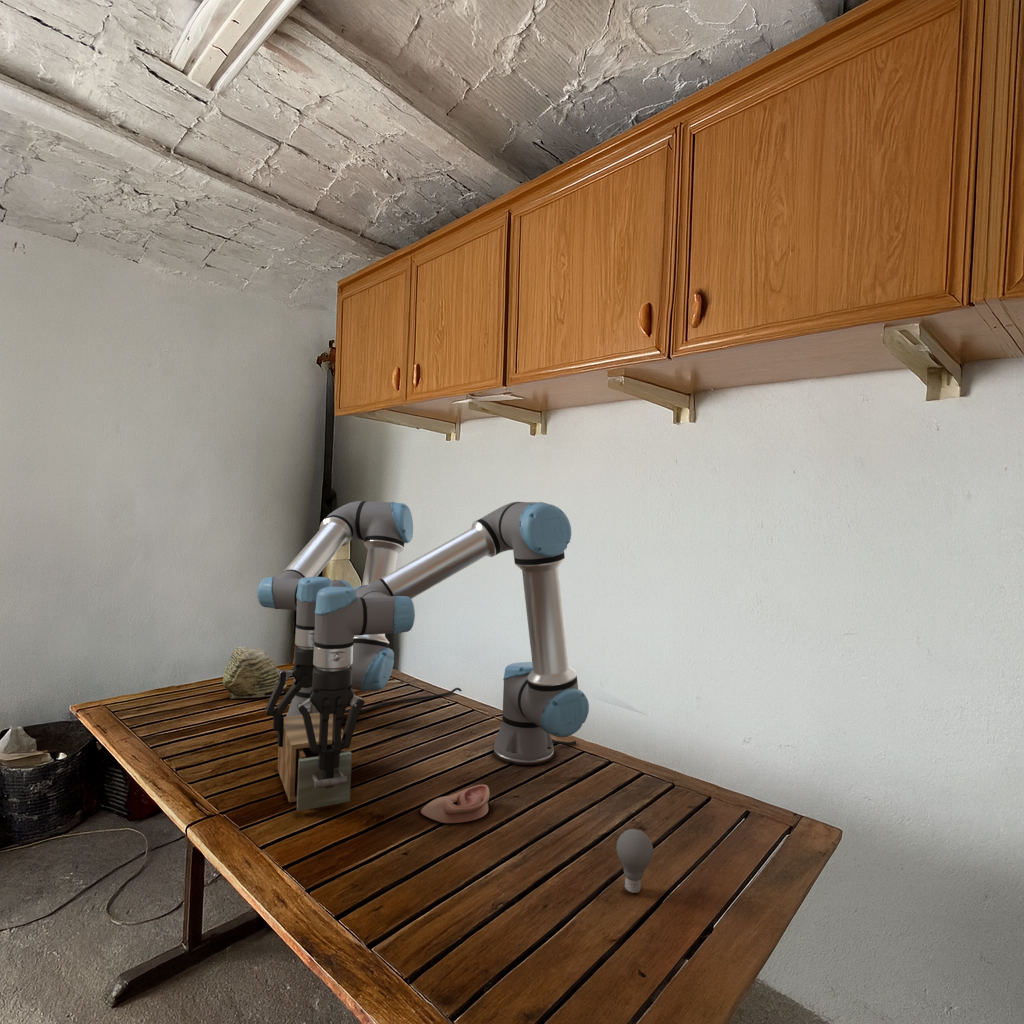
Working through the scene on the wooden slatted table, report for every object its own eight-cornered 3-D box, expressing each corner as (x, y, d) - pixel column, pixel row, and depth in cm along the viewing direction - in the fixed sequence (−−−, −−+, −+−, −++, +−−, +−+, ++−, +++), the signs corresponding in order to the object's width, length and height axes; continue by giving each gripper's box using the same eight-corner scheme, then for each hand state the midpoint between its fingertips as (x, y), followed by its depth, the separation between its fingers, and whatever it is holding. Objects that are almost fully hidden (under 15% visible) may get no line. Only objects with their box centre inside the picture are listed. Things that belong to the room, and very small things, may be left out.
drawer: (356, 814, 125) (358, 764, 125) (302, 825, 120) (304, 772, 120) (333, 770, 144) (334, 727, 144) (285, 778, 139) (287, 733, 139)
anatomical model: (416, 799, 126) (434, 775, 137) (415, 819, 126) (433, 793, 137) (480, 808, 123) (494, 783, 134) (479, 829, 123) (493, 802, 134)
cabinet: (345, 792, 136) (347, 737, 136) (289, 802, 131) (291, 745, 130) (328, 761, 151) (330, 711, 151) (277, 769, 146) (279, 717, 146)
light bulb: (610, 879, 108) (613, 822, 108) (644, 879, 109) (647, 822, 109) (619, 902, 102) (622, 840, 102) (655, 901, 103) (658, 840, 103)
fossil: (218, 695, 195) (220, 647, 195) (278, 685, 208) (279, 640, 207) (228, 703, 189) (230, 653, 188) (289, 692, 201) (290, 645, 201)
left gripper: (257, 653, 135) (253, 755, 135) (368, 646, 146) (365, 739, 146) (254, 645, 141) (250, 742, 142) (360, 639, 153) (356, 728, 153)
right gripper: (301, 674, 118) (296, 799, 119) (370, 668, 124) (365, 787, 125) (295, 664, 125) (290, 782, 126) (361, 659, 131) (356, 771, 132)
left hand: (308, 741), depth 144 cm, fingers closed on cabinet, 12 cm apart
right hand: (327, 784), depth 125 cm, fingers closed
